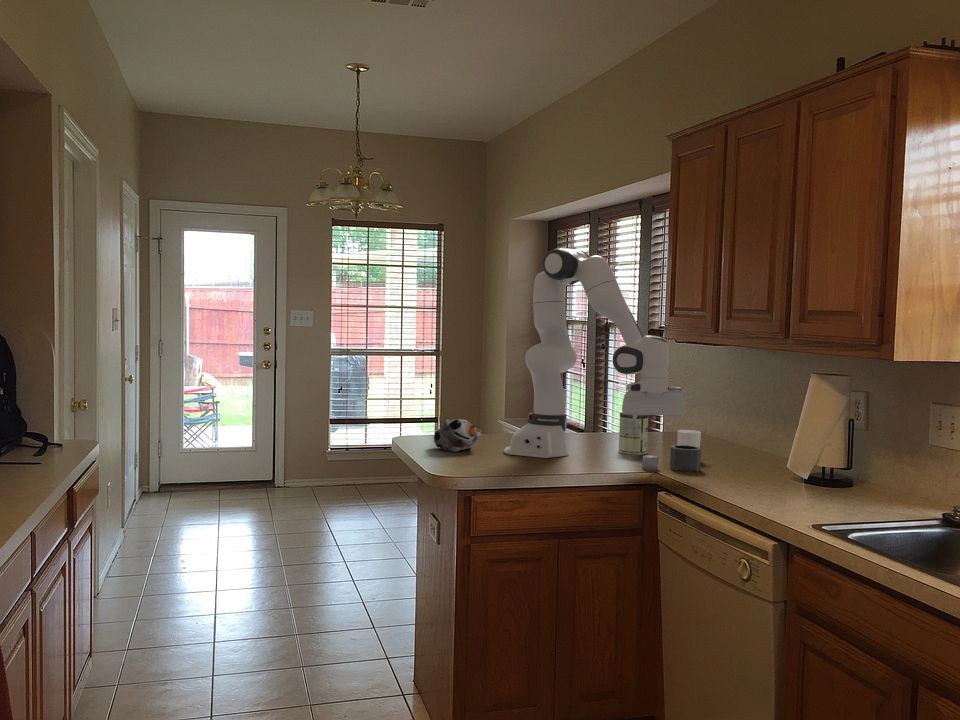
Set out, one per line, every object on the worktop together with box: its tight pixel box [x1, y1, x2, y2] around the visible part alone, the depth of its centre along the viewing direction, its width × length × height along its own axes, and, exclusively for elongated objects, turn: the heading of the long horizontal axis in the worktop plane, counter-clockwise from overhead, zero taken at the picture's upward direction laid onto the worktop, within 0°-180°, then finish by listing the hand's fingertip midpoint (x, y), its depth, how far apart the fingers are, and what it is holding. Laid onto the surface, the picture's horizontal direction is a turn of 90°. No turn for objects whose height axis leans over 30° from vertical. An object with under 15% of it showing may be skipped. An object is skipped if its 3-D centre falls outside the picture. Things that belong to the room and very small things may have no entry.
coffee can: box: [618, 412, 650, 456], centre depth 302 cm, size 10×10×14 cm
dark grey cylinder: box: [669, 444, 702, 472], centre depth 273 cm, size 9×9×7 cm
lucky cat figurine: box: [433, 418, 483, 453], centre depth 295 cm, size 15×12×14 cm
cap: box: [642, 454, 660, 471], centre depth 271 cm, size 5×5×4 cm
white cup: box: [677, 429, 702, 448], centre depth 290 cm, size 8×8×10 cm
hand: (653, 428), depth 270 cm, fingers open, 8 cm apart
